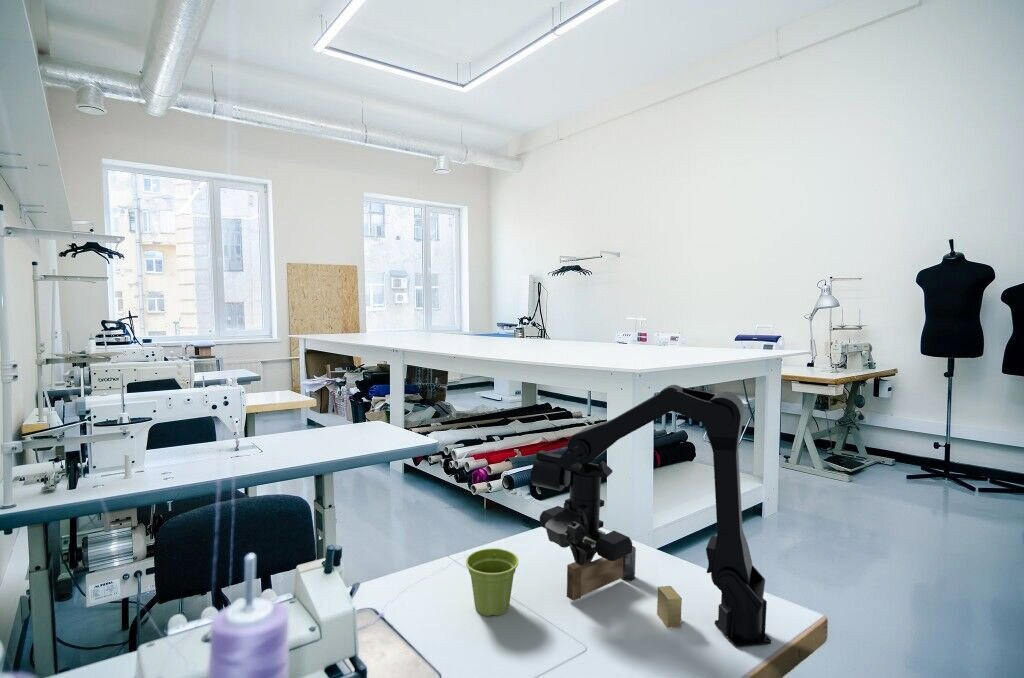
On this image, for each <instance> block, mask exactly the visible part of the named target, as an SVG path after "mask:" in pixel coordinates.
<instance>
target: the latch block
mask: <svg viewBox="0 0 1024 678" xmlns="http://www.w3.org/2000/svg"><path fill="white" fill-rule="evenodd" d="M682 601H683V599H682V597H681V596H680V594H679V593H677V591H676V590H675V589H674V587H673V586H672V585H664V586H663V585H662V586H661V585H660V586H657V603H656V607H657V608H656V615H657V616H658V617H659V619H660V620H661V622H662V623H663V625H664V626H665V627H666V628H667V629H672V628H680V627H681V626H682V625H681V624H682V603H683V602H682Z"/></svg>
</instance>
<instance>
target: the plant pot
mask: <svg viewBox="0 0 1024 678" xmlns="http://www.w3.org/2000/svg"><path fill="white" fill-rule="evenodd" d="M519 562H520V561H519V558H518V556H517V555H516V554H515V553H513V552H512V551H511V550H510V551H509V550H507V549H504V548H494V547H491V548H490V547H489V548H482V549H479V550H476V551H474V552H472V553H470V554H469V555H468V556H467V557H466V558H465V565H466V568H467V569H468V573H469V575H470V579H471V587H472V593H473V594H472V595H473V603H474V607H475V610H476V612H478V613H479V614H481V615H483V616H486V617H489V616H491V615H492V616H493V615H495V616H497V617H498V616H501V615H503V614H505V613H507V611H508V610H509V608H510V602H511V595H512V591H513V590H512V589H513V582H514V575H515V574H516V570H517V569H516V568H518V566H519Z"/></svg>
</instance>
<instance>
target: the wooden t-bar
mask: <svg viewBox="0 0 1024 678" xmlns="http://www.w3.org/2000/svg"><path fill="white" fill-rule="evenodd" d="M566 570H567V571H566V597H567V598H568V599H569V600H571V601H573V602H575V601H578V600H579V599H581V597H583V596H586V595H588V594H589V593H592V592H594V591H596V590H599V589H601V588H603V587H605V586H607V585H609V584H612V583H614V582H616V581H618V580H622V579H621V578H623V557H622V558H620V559H618V560H616V561H609V560H607V559H605V558H603V557H599V558H597V559H595V560H592V561H591V562H589V563H587V564H584V565H582V566H580V565H579V564H577V563H575V561H574V562H572V563H569V564H567V568H566Z"/></svg>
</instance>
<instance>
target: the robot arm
mask: <svg viewBox="0 0 1024 678" xmlns="http://www.w3.org/2000/svg"><path fill="white" fill-rule="evenodd" d="M670 412H673V413H677V414H679V415H682V416H684V417H686V418H688V419H690V420H693V421H695V422H700V423H703V424H704V428H705V432H706V436H707V438H708V441H709V444H710V446H711V447H710V448H711V450H712V455H713V457H712V458H713V459H712V461H713V475H714V476H713V478H714V494H715V511H716V512H715V513H716V531H717V533H716V534H717V536H716V535H713V534H711V535H710V538H709V539H708V542H707V545H706V548H705V553H706V558H707V562H708V567H707V569H706V574H710V577H711V581H712V583H713V585H714V586H715V587H716V588H717V589H718V590H720V592H721V600H720V602H721V603H719V604H718V613H717V614H718V618H717V619H716V620H714V625H715V626H716V628H717V629H719V630H720V632H721V633H722V634H723V635H724V636H725V637H726V638H727V639H728V641H729V642H731V644H732V645H733V646H734V647H736V648H743V647H752V646H761V645H762V646H763V645H769V644H772V639H771V638H770V637H769V636H768V634H766V625H767V624H766V621H767V608H768V607H767V606H768V605H767V604H768V601H767V600H766V599H764V595H765V594H764V592H765V586H766V585H765V584H766V578H765V577H764V576H763V575H762V574H761V573H760V572H759V570H758V569H757V568H756V567H755V566H754V565H753V559H752V556H751V552H750V551H751V550H750V547H749V544H748V541H747V539H746V535H745V533H744V530H743V512H742V495H741V494H742V492H741V473H740V471H741V470H740V454H739V453H740V452H739V449H740V441H741V437H742V430H743V423H744V416H745V405H744V402H743V401H742V399H741V398H740V397H738V396H737V395H736V394H734V393H732V392H726V391H722V392H718V393H713V392H708V391H704V390H698V389H692V388H686V387H684V386H681V385H677V384H671V385H668V386H666V387H665V388H662V390H660V392H658V393H657V394H655V395H653V396H651V397H650V398H648V399H646V400H644V401H642V402H641V403H638V404H637V405H635V406H634V407H631V408H630V409H628V410H626V411H625V412H623V413H621V414H620V415H618V416H616V417H614V418H612V419H609V420H606V421H601V422H599V423H596V424H593V425H590V426H587V427H584V428H583V429H581V430H580V431H579V430H578V432H576V433H575V434H573V435H571V437H569V439H568V442H567V449H566V450H565V451H564V452H563V454H558V453H557V454H556V453H552V452H549V451H546V450H542V449H541V450H540V451H538V452H536V453H535V457H536V458H535V459H534V462H533V464H532V468H531V470H530V475H529V476H530V477H529V478H530V482H531V484H532V486H536V487H537V486H538V487H542V488H546V489H550V490H555V491H558V492H559V491H560V492H561V491H563V490H564V489H565V487H566V488H567V487H569V497H568V498H567V499H564V503H563V507H562V506H559V505H556V506H554V507H551V508H547V509H546V510H543V511H542V512H541V513H540V515H539V527H542V528H543V529H545V530H546V533H547V538H548V541H549V542H551V543H554V544H556V545H559V547H560V548H563V549H565V548H568V547H569V549H570V551H571V553H572V556H573V559H574V562H575V563H577V564H579V565H580V566H582V565H584V564H587V563H589V562H592V561H593V559H594V557H595V555H596V553H597V556H599V557H600V558H602V557H603V558H605V559H607V560H609V561H616V560H618V559H620V558H622V557H624V556H625V555H627V554H629V553H631V552H632V546H633V541H632V540H633V539H631V538H630V536H627V535H625V534H623V533H621V532H618V531H616V530H613V531H609V532H607V533H606V532H605V531H603V530H601V528H603V527H604V521H603V520H601V519H600V515H601V513H600V511H601V508H602V507H604V506H605V500H604V499H601V483H602V479H607V478H608V477H609V476H610V475H612V473H613V469H611V467H610V466H608V465H607V463H606V462H605V460H602V461H600V462H599V463H598V464H596V463H591V462H592V461H594V460H595V459H597V458H598V457H599V456H601V455H602V454H604V453H605V452H606V451H607V450H608V449H610V448H611V446H613V445H614V444H615V443H616V442H618V441H619V440H621V439H622V438H624V437H625V436H628V435H629V434H631V433H633V432H635V431H637V430H638V429H641V428H643V427H644V426H647V425H648V424H650V423H652V422H653V421H655V420H657V419H659V418H661V417H663V416H664V415H666V414H669V413H670ZM577 463H579V464H577Z"/></svg>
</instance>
